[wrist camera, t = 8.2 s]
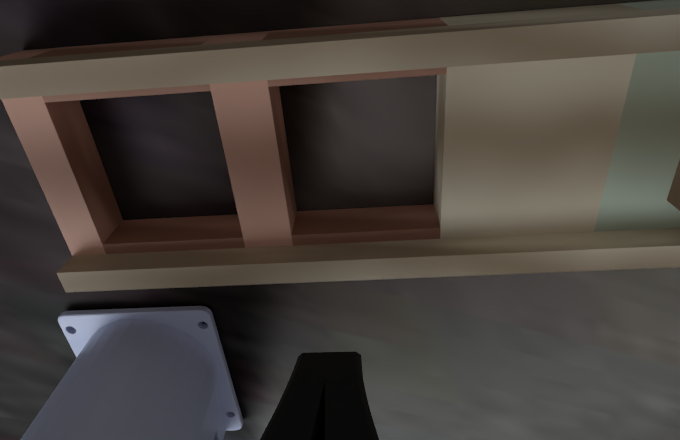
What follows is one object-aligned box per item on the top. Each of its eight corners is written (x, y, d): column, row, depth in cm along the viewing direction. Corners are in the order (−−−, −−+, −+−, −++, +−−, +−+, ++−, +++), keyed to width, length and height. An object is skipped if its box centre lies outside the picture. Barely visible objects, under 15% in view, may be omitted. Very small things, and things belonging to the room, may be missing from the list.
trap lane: (761, 217, 20) (833, 266, 17) (102, 248, 22) (61, 297, 19) (865, -17, 15) (990, -8, 12) (21, 50, 17) (-50, 71, 14)
